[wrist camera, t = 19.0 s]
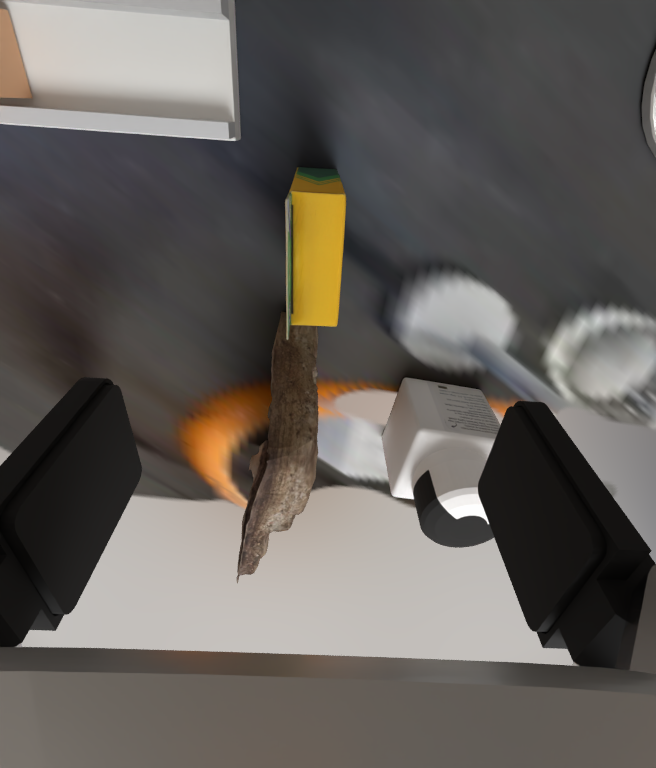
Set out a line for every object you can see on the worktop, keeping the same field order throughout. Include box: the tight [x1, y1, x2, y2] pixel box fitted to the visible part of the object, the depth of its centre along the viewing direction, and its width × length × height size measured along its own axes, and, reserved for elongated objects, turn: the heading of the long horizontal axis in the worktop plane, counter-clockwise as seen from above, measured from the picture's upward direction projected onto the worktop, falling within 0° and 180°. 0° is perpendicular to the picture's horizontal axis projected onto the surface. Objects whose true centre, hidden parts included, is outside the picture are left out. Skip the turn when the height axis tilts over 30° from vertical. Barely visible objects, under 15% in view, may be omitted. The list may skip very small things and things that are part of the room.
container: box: [382, 378, 501, 547], centre depth 34 cm, size 8×8×13 cm
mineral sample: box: [237, 312, 318, 583], centre depth 32 cm, size 17×4×15 cm, turn 166°
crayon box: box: [285, 167, 346, 340], centre depth 25 cm, size 7×3×12 cm, turn 177°
